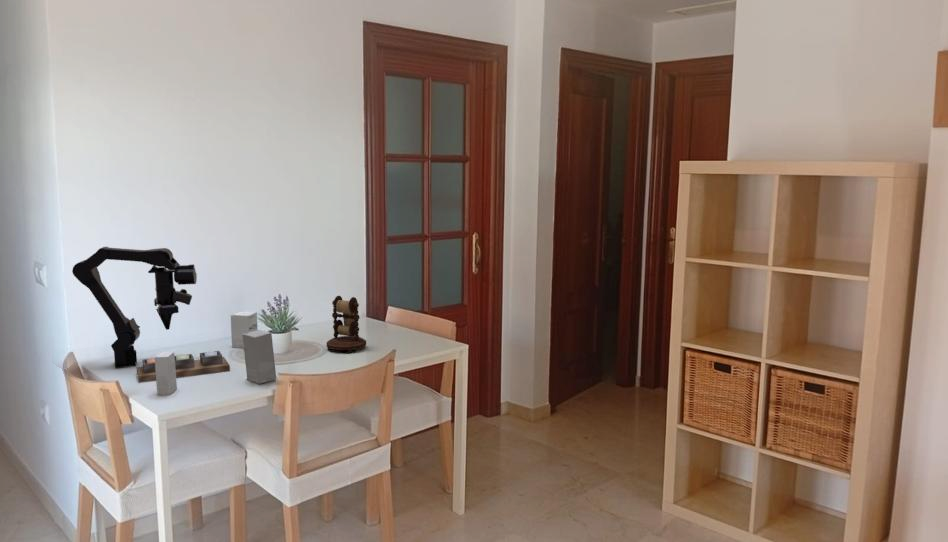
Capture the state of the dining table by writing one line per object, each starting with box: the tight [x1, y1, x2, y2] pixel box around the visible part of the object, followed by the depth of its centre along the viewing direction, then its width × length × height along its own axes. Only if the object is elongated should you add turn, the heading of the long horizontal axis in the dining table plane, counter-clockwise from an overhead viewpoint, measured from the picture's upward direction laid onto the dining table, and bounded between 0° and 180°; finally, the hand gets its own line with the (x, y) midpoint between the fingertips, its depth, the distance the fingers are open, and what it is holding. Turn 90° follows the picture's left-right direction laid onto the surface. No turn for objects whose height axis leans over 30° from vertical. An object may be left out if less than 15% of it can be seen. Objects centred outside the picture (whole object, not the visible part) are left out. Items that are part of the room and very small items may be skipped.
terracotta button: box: [147, 357, 155, 364], centre depth 244 cm, size 4×4×3 cm
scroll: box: [326, 295, 367, 354], centre depth 277 cm, size 15×15×20 cm
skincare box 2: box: [242, 329, 277, 385], centre depth 239 cm, size 8×7×16 cm
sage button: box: [176, 354, 189, 360], centre depth 248 cm, size 4×4×3 cm
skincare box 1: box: [153, 351, 178, 396], centre depth 227 cm, size 6×4×12 cm
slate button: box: [204, 351, 217, 357], centre depth 253 cm, size 4×4×3 cm
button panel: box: [135, 350, 231, 383], centre depth 249 cm, size 28×12×5 cm, turn 117°
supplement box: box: [230, 311, 259, 349], centre depth 282 cm, size 7×7×13 cm
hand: (167, 329), depth 258 cm, fingers closed
